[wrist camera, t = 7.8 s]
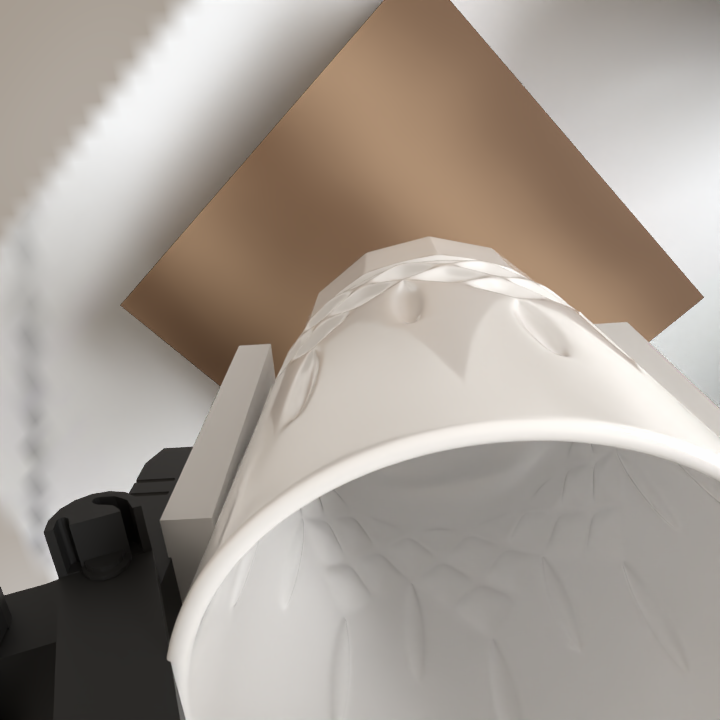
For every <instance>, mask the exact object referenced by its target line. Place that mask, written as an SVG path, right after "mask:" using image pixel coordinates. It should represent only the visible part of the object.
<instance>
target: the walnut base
mask: <svg viewBox="0 0 720 720" xmlns="http://www.w3.org/2000/svg"><path fill="white" fill-rule="evenodd" d="M427 236H431V237H436V238H442V239H447V240H452V241H457V242H463V243H468V244H473V245H479V246H484V247H489V248H492V249H494V250H495V251H496V252H498V253H499V254H500V255H502V256H503V257H504V258H505V259H507V260H508V261H509V262H511V263H512V264H513V265H514V266H516V267H517V268H518V269H520V270H521V271H522V272H524V273H525V274H526V275H527V276H529V277H530V278H531V279H533V280H534V281H535V282H537V283H539V284H541V285H544V286H545V287H547V288H549V289H550V290H552V291H553V292H555V293H556V294H557V295H558V296H559V297H561V298H562V299H563V300H564V301H565V302H566V303H568V304H569V305H570V306H571V307H573V308H574V309H576V310H577V311H579V312H581V313H582V314H583V315H584V316H585V317H586V318H587V319H588V320H590V321H591V322H592V323H593V324H603V323H619V322H628V323H629V324H630V325H631V326H632V327H633V328H634V329H635V330H636V331H637V332H638V333H639V334H640V335H642V336H643V337H644V338H645V339H646V340H647V341H648V342H650V341H651V340H652V339H653V338H655V337H656V336H657V335H658V334H659V333H661V332H662V331H663V330H664V329H666V328H667V327H668V326H669V325H671V324H672V323H673V322H674V321H676V320H677V319H678V318H679V317H681V316H682V315H683V314H684V313H686V312H687V311H688V310H689V309H691V308H692V307H693V306H694V305H696V304H697V303H698V302H699V301H700V300H702V299H703V298H704V297H703V296H702V295H701V293H700V292H699V291H698V290H697V289H696V287H695V286H694V285H693V284H692V283H691V282H690V280H689V279H688V278H687V277H686V276H685V275H684V273H683V272H682V271H681V270H680V269H679V268H678V266H677V265H676V264H675V263H674V262H673V261H672V259H671V258H670V257H669V256H668V255H667V254H666V252H665V251H664V250H663V249H662V248H661V247H660V245H659V244H658V243H657V242H656V241H655V240H654V238H653V237H652V236H651V235H650V234H649V233H648V231H647V230H646V229H645V228H644V227H643V225H642V224H641V223H640V222H639V221H638V220H637V218H636V217H635V216H634V215H633V214H632V213H631V211H630V210H629V209H628V208H627V207H626V206H625V204H624V203H623V202H622V201H621V200H620V199H619V197H618V196H617V195H616V194H615V193H614V192H613V190H612V189H611V188H610V187H609V186H608V185H607V183H606V182H605V181H604V180H603V179H602V178H601V176H600V175H599V174H598V173H597V172H596V170H595V169H594V168H593V167H592V166H591V165H590V163H589V162H588V161H587V160H586V159H585V158H584V156H583V155H582V154H581V153H580V152H579V151H578V149H577V148H576V147H575V146H574V145H573V144H572V142H571V141H570V140H569V139H568V138H567V137H566V135H565V134H564V133H563V132H562V131H561V130H560V128H559V127H558V126H557V125H556V124H555V123H554V121H553V120H552V119H551V118H550V117H549V116H548V114H547V113H546V112H545V111H544V110H543V108H542V107H541V106H540V105H539V104H538V103H537V101H536V100H535V99H534V98H533V97H532V96H531V94H530V93H529V92H528V91H527V90H526V89H525V87H524V86H523V85H522V84H521V83H520V82H519V80H518V79H517V78H516V77H515V76H514V75H513V73H512V72H511V71H510V70H509V69H508V68H507V66H506V65H505V64H504V63H503V62H502V61H501V59H500V58H499V57H498V56H497V55H496V53H495V52H494V51H493V50H492V49H491V48H490V46H489V45H488V44H487V43H486V42H485V41H484V39H483V38H482V37H481V36H480V35H479V34H478V32H477V31H476V30H475V29H474V28H473V27H472V25H471V24H470V23H469V22H468V21H467V20H466V18H465V17H464V16H463V15H462V14H461V13H460V11H459V10H458V9H457V8H456V7H455V6H454V4H453V3H452V2H451V1H450V0H384V1H383V2H382V3H381V4H380V5H379V7H378V8H377V9H376V10H375V11H374V12H373V14H372V15H371V16H370V17H369V18H368V19H367V21H366V22H365V23H364V24H363V25H362V26H361V27H360V29H359V30H358V31H357V32H356V33H355V34H354V36H353V37H352V38H351V39H350V40H349V41H348V42H347V44H346V45H345V46H344V47H343V48H342V49H341V51H340V52H339V53H338V54H337V55H336V56H335V58H334V59H333V60H332V61H331V62H330V63H329V64H328V66H327V67H326V68H325V69H324V70H323V71H322V73H321V74H320V75H319V76H318V77H317V78H316V80H315V81H314V82H313V83H312V84H311V85H310V86H309V88H308V89H307V90H306V91H305V92H304V93H303V95H302V96H301V97H300V98H299V99H298V100H297V101H296V103H295V104H294V105H293V106H292V107H291V108H290V110H289V111H288V112H287V113H286V114H285V115H284V117H283V118H282V119H281V120H280V121H279V122H278V123H277V125H276V126H275V127H274V128H273V129H272V130H271V132H270V133H269V134H268V135H267V136H266V137H265V138H264V140H263V141H262V142H261V143H260V144H259V145H258V147H257V148H256V149H255V150H254V151H253V152H252V154H251V155H250V156H249V157H248V158H247V159H246V160H245V162H244V163H243V164H242V165H241V166H240V167H239V169H238V170H237V171H236V172H235V173H234V174H233V175H232V177H231V178H230V179H229V180H228V181H227V182H226V184H225V185H224V186H223V187H222V188H221V189H220V191H219V192H218V193H217V194H216V195H215V196H214V197H213V199H212V200H211V201H210V202H209V203H208V204H207V206H206V207H205V208H204V209H203V210H202V211H201V212H200V214H199V215H198V216H197V217H196V218H195V219H194V221H193V222H192V223H191V224H190V225H189V226H188V228H187V229H186V230H185V231H184V232H183V233H182V234H181V236H180V237H179V238H178V239H177V240H176V241H175V243H174V244H173V245H172V246H171V247H170V248H169V249H168V251H167V252H166V253H165V254H164V255H163V256H162V258H161V259H160V260H159V261H158V262H157V263H156V265H155V266H154V267H153V268H152V269H151V270H150V271H149V273H148V274H147V275H146V276H145V277H144V278H143V280H142V281H141V282H140V283H139V284H138V285H137V286H136V288H135V289H134V290H133V291H132V292H131V293H130V295H129V296H128V297H127V298H126V299H125V300H124V302H123V303H122V304H121V305H120V306H122V307H123V308H124V309H125V310H127V311H128V312H129V313H130V314H131V315H133V316H134V317H135V318H136V319H138V320H139V321H140V322H141V323H143V324H144V325H145V326H146V327H148V328H149V329H150V330H151V331H153V332H154V333H155V334H156V335H157V336H159V337H160V338H161V339H162V340H164V341H165V342H166V343H167V344H169V345H170V346H171V347H172V348H174V349H175V350H176V351H177V352H179V353H180V354H181V355H182V356H183V357H185V358H186V359H187V360H188V361H190V362H191V363H192V364H193V365H195V366H196V367H197V368H198V369H200V370H201V371H202V372H203V373H205V374H206V375H207V376H208V377H210V378H211V379H212V380H213V381H214V382H216V383H217V384H218V385H219V386H221V384H222V382H223V380H224V378H225V376H226V373H227V371H228V369H229V367H230V365H231V362H232V360H233V358H234V356H235V354H236V351H237V349H238V347H239V346H242V345H259V344H271V349H272V357H273V364H274V372H275V379H276V377H277V375H278V373H279V371H280V369H281V367H282V365H283V362H284V360H285V358H286V355H287V353H288V351H289V350H290V348H291V347H292V345H293V344H294V343H295V341H296V340H297V339H298V337H299V336H300V335H301V333H302V331H303V329H304V326H305V324H306V322H307V319H308V317H309V315H310V312H311V310H312V308H313V305H314V303H315V301H316V298H317V296H318V294H319V292H320V291H322V290H323V289H324V288H325V287H326V286H327V285H329V284H330V283H331V282H332V281H333V280H335V279H336V278H337V277H338V276H339V275H340V274H342V273H343V272H344V271H345V270H346V269H348V268H349V267H350V266H351V265H352V264H354V263H355V262H356V261H357V260H358V259H359V258H361V257H362V256H363V255H364V254H365V253H367V252H370V251H374V250H378V249H382V248H386V247H389V246H393V245H397V244H401V243H405V242H408V241H412V240H416V239H420V238H424V237H427Z"/></svg>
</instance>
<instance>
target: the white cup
mask: <svg viewBox="0 0 720 720" xmlns="http://www.w3.org/2000/svg"><path fill="white" fill-rule="evenodd" d="M167 660H168V661H170V662H171V665H172V669H173V673H174V677H175V681H176V685H177V688H178V692H179V696H180V700H181V704H182V707H183V711H184V715H185V719H186V720H720V436H718V435H717V434H716V433H715V432H714V431H713V430H712V429H711V428H709V427H708V426H707V425H706V424H705V423H704V422H703V421H702V420H700V419H699V418H698V417H697V416H696V415H695V414H694V413H693V412H692V411H690V410H689V409H688V408H687V407H686V406H685V405H684V404H683V403H682V402H680V401H679V400H678V399H677V398H676V397H675V396H674V395H673V394H672V393H670V392H669V391H668V390H667V389H666V388H665V387H664V386H663V385H662V384H660V383H659V382H658V381H657V380H656V379H655V378H654V377H653V376H652V375H651V374H649V373H648V372H647V371H646V370H645V369H644V368H643V367H642V366H640V365H639V364H638V363H637V362H636V361H635V360H634V359H633V358H632V357H630V356H629V355H628V354H627V353H626V352H625V351H624V350H623V349H622V348H621V347H619V346H618V345H617V344H616V343H615V342H614V341H613V340H611V339H610V338H609V337H608V336H607V335H606V334H605V333H604V332H602V331H601V330H600V329H599V328H598V327H597V326H596V325H594V324H593V323H592V322H591V321H590V320H588V319H587V318H586V317H585V316H584V315H583V314H582V313H581V312H579V311H577V310H576V309H574V308H573V307H571V306H570V305H569V304H568V303H566V302H565V301H564V300H563V299H562V298H561V297H559V296H558V295H557V294H556V293H555V292H553V291H552V290H550V289H549V288H547V287H545V286H544V285H541V284H539V283H537V282H535V281H534V280H533V279H531V278H530V277H529V276H527V275H526V274H525V273H524V272H522V271H521V270H520V269H518V268H517V267H516V266H514V265H513V264H512V263H511V262H509V261H508V260H507V259H505V258H504V257H503V256H502V255H500V254H499V253H498V252H496V251H495V250H494V249H492V248H489V247H484V246H479V245H473V244H468V243H463V242H457V241H452V240H447V239H442V238H436V237H431V236H427V237H424V238H420V239H416V240H412V241H408V242H405V243H401V244H397V245H393V246H389V247H386V248H382V249H378V250H374V251H370V252H367V253H365V254H364V255H363V256H362V257H361V258H359V259H358V260H357V261H356V262H355V263H354V264H352V265H351V266H350V267H349V268H348V269H346V270H345V271H344V272H343V273H342V274H340V275H339V276H338V277H337V278H336V279H335V280H333V281H332V282H331V283H330V284H329V285H327V286H326V287H325V288H324V289H323V290H322V291H320V292H319V294H318V296H317V298H316V301H315V303H314V305H313V308H312V310H311V312H310V315H309V317H308V319H307V322H306V324H305V326H304V329H303V331H302V333H301V335H300V336H299V337H298V339H297V340H296V341H295V343H294V344H293V345H292V347H291V348H290V350H289V351H288V353H287V355H286V358H285V360H284V362H283V365H282V367H281V369H280V371H279V373H278V375H277V377H276V379H275V381H274V383H273V385H272V386H271V388H270V391H269V394H268V397H267V399H266V402H265V404H264V407H263V409H262V412H261V414H260V417H259V419H258V422H257V424H256V427H255V429H254V432H253V434H252V437H251V439H250V442H249V444H248V446H247V448H246V451H245V453H244V455H243V457H242V460H241V462H240V465H239V467H238V470H237V472H236V475H235V477H234V480H233V482H232V485H231V487H230V490H229V492H228V495H227V497H226V500H225V502H224V505H223V507H222V510H221V512H220V515H219V517H218V519H217V522H216V524H215V527H214V529H213V532H212V534H211V536H210V539H209V541H208V544H207V546H206V549H205V551H204V553H203V556H202V558H201V561H200V563H199V566H198V568H197V570H196V573H195V575H194V578H193V580H192V583H191V585H190V587H189V590H188V592H187V595H186V597H185V599H184V602H183V604H182V607H181V609H180V611H179V614H178V616H177V619H176V622H175V625H174V628H173V631H172V635H171V638H170V642H169V647H168V652H167Z"/></svg>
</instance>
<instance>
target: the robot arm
mask: <svg viewBox="0 0 720 720" xmlns="http://www.w3.org/2000/svg"><path fill="white" fill-rule="evenodd" d="M594 325H596V326H597V327H598V328H599V329H600V330H601V331H602V332H604V333H605V334H606V335H607V336H608V337H609V338H610V339H611V340H613V341H614V342H615V343H616V344H617V345H618V346H619V347H621V348H622V349H623V350H624V351H625V352H626V353H627V354H628V355H629V356H630V357H632V358H633V359H634V360H635V361H636V362H637V363H638V364H639V365H640V366H642V367H643V368H644V369H645V370H646V371H647V372H648V373H649V374H651V375H652V376H653V377H654V378H655V379H656V380H657V381H658V382H659V383H660V384H662V385H663V386H664V387H665V388H666V389H667V390H668V391H669V392H670V393H672V394H673V395H674V396H675V397H676V398H677V399H678V400H679V401H680V402H682V403H683V404H684V405H685V406H686V407H687V408H688V409H689V410H690V411H692V412H693V413H694V414H695V415H696V416H697V417H698V418H699V419H700V420H702V421H703V422H704V423H705V424H706V425H707V426H708V427H709V428H711V429H712V430H713V431H714V432H715V433H716V434H717V435H718V436H720V408H719V407H717V406H716V405H715V404H714V403H713V402H712V401H711V400H710V399H709V398H708V397H707V396H706V395H705V394H704V393H702V392H701V391H700V390H699V389H698V388H697V387H696V386H695V385H694V384H693V383H692V382H691V381H690V380H689V379H688V378H686V377H685V376H684V375H683V374H682V373H681V372H680V371H679V370H678V369H677V368H676V367H675V366H674V365H673V364H671V363H670V362H669V361H668V360H667V359H666V358H665V357H664V356H663V355H662V354H661V353H660V352H659V351H658V350H656V349H655V348H654V347H653V346H652V345H651V344H650V343H649V342H648V341H647V340H646V339H645V338H644V337H643V336H642V335H640V334H639V333H638V332H637V331H636V330H635V329H634V328H633V327H632V326H631V325H630V324H629V323H628V322H619V323H603V324H594ZM274 381H275V372H274V364H273V357H272V349H271V344H259V345H242V346H239V347H238V349H237V351H236V354H235V356H234V358H233V360H232V362H231V365H230V367H229V369H228V371H227V373H226V376H225V378H224V380H223V382H222V384H221V387H220V389H219V391H218V393H217V395H216V398H215V400H214V402H213V404H212V406H211V409H210V411H209V413H208V415H207V417H206V420H205V422H204V424H203V426H202V428H201V431H200V433H199V435H198V437H197V440H196V442H195V444H194V446H193V447H181V448H164V449H163V450H161V451H160V452H159V453H158V454H157V455H155V456H154V457H153V458H152V459H150V460H149V461H148V462H147V463H146V464H145V465H144V467H143V469H142V471H141V473H140V474H139V476H138V478H137V480H136V481H137V483H134V485H133V487H132V489H131V491H130V492H129V494H128V493H126V492H114V491H108V492H102V493H96V494H91V495H89V496H86V497H83V498H80V499H78V500H75V501H73V502H71V503H70V504H68V505H66V506H65V507H63V508H61V509H60V510H59V511H58V512H57V513H56V514H55V515H54V516H53V517H52V518H51V519H50V520H49V521H48V523H47V525H46V528H45V530H44V535H45V538H46V541H47V544H48V547H49V550H50V553H51V556H52V559H53V562H54V565H55V568H56V571H57V574H58V577H59V579H58V580H56V581H53V582H50V583H47V584H44V585H41V586H37V587H34V588H30V589H26V590H23V591H19V592H15V593H12V594H8V595H3V592H2V589H1V587H0V720H186V719H185V715H184V711H183V707H182V704H181V700H180V696H179V692H178V688H177V685H176V681H175V677H174V673H173V669H172V665H171V662H170V661H168V660H167V652H168V647H169V642H170V638H171V635H172V631H173V628H174V625H175V622H176V619H177V616H178V614H179V611H180V609H181V607H182V604H183V602H184V599H185V597H186V595H187V592H188V590H189V587H190V585H191V583H192V580H193V578H194V575H195V573H196V570H197V568H198V566H199V563H200V561H201V558H202V556H203V553H204V551H205V549H206V546H207V544H208V541H209V539H210V536H211V534H212V532H213V529H214V527H215V524H216V522H217V519H218V517H219V515H220V512H221V510H222V507H223V505H224V502H225V500H226V497H227V495H228V492H229V490H230V487H231V485H232V482H233V480H234V477H235V475H236V472H237V470H238V467H239V465H240V462H241V460H242V457H243V455H244V453H245V451H246V448H247V446H248V444H249V442H250V439H251V437H252V434H253V432H254V429H255V427H256V424H257V422H258V419H259V417H260V414H261V412H262V409H263V407H264V404H265V402H266V399H267V397H268V394H269V391H270V388H271V386H272V385H273V383H274Z"/></svg>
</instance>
